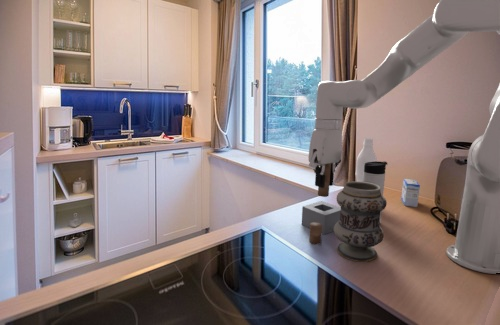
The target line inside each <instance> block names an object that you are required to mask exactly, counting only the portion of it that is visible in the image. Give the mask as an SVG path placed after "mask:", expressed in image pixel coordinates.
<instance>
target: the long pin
mask: <svg viewBox="0 0 500 325" xmlns="http://www.w3.org/2000/svg"><path fill="white" fill-rule="evenodd" d="M319 167H320V169H321V166H319ZM330 171H331V164H325V170H324V175H325V186H324V188H321V187H318V186H317V187H318V189H317V195H318V196H319V197H322V198H327V197H329V194H330V185H329V184H330Z"/></svg>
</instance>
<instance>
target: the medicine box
mask: <svg viewBox="0 0 500 325" xmlns="http://www.w3.org/2000/svg"><path fill="white" fill-rule="evenodd" d="M420 187H421V185H420V183H419V182H418V181H417V179H412V178H411V179H410V178H403V181H402V187H401V188H402V189H401V198H400V199H401V202H402V203H403V205H404V206H405V207H413V208H417V207H418V204H419V195H420V190H421V188H420Z"/></svg>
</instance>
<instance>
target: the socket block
mask: <svg viewBox="0 0 500 325" xmlns="http://www.w3.org/2000/svg"><path fill="white" fill-rule="evenodd" d="M301 211H302V212H301V225H302V226H305V227H306V228H309V229H310V224H311V223H320V224H321V225H322V233H321V235H326V234H329V233H332V232H334V226H335V224H336V223H337V222H338V221H339V220H340V211H341V206H337V205H334V204H332V203H329V202H326V201H323V200H320V201H317V202H313V203H309V204H306V205H303V206H302V208H301Z"/></svg>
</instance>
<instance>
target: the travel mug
mask: <svg viewBox="0 0 500 325" xmlns="http://www.w3.org/2000/svg"><path fill="white" fill-rule="evenodd" d="M387 166H388V162H387V161H378V160H377V161H376V162H367V163H365V165H364V174H363V182H367V183H372V184H376V185H378V186H379V187H380V192H381V195H382V196H383V197H384V189H385V188H384V187H385V180H386V168H387ZM381 218H382V211H380V221H381V220H382V219H381Z"/></svg>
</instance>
